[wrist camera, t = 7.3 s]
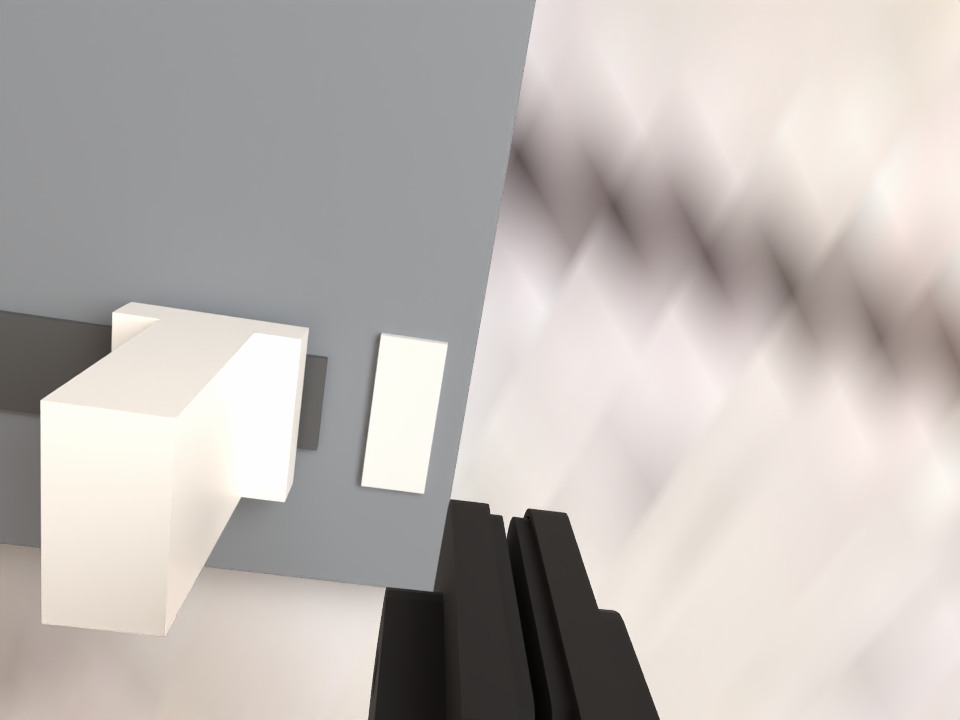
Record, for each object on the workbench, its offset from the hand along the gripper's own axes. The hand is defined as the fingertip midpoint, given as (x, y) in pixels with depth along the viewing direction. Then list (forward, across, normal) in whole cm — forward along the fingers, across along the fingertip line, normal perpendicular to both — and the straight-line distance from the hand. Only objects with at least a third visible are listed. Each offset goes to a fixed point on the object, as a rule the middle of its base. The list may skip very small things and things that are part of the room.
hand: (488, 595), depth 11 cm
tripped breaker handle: (+8, +6, +1) cm, 10 cm away
